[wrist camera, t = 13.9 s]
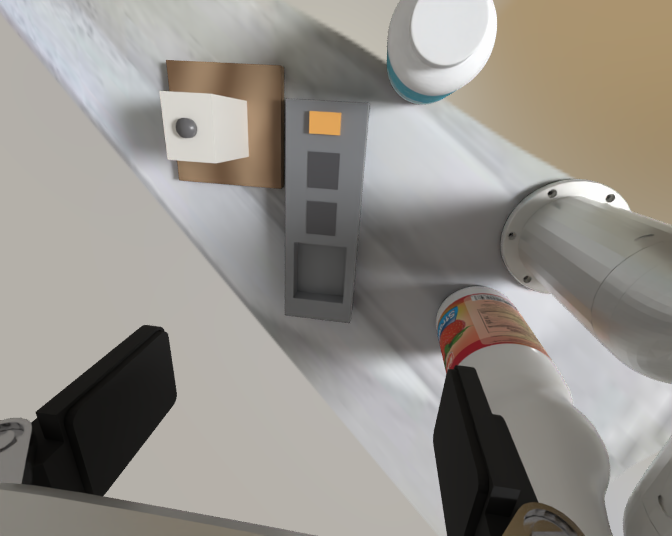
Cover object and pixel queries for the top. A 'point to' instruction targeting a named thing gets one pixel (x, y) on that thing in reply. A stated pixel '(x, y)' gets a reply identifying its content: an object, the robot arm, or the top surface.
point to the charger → (204, 127)
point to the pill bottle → (438, 46)
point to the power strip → (323, 205)
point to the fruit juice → (529, 403)
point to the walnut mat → (262, 113)
